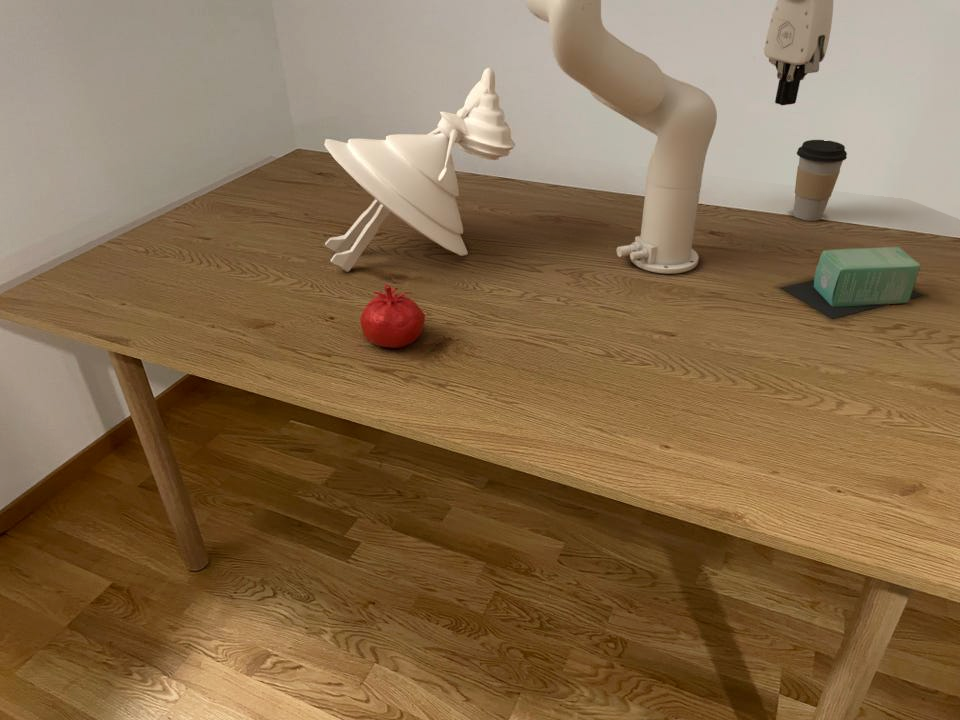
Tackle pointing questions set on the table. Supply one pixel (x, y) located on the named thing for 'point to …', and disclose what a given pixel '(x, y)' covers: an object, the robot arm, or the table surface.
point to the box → (866, 276)
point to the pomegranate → (392, 319)
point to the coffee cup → (816, 177)
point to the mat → (815, 300)
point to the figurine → (420, 173)
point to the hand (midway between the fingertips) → (785, 103)
